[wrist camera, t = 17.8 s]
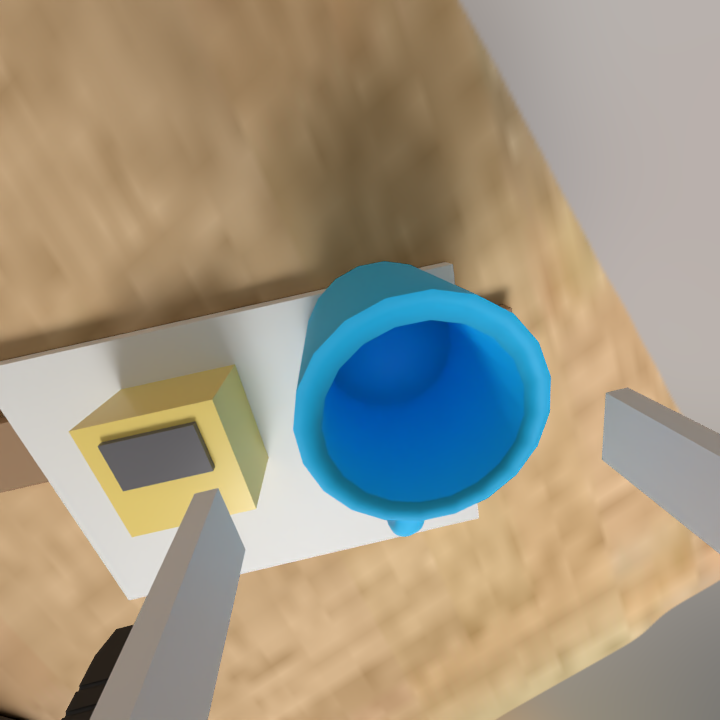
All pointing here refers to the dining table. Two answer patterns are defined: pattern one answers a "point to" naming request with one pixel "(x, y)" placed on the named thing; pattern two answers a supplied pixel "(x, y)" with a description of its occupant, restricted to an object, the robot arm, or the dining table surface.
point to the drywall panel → (169, 360)
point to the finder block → (174, 448)
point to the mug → (415, 395)
